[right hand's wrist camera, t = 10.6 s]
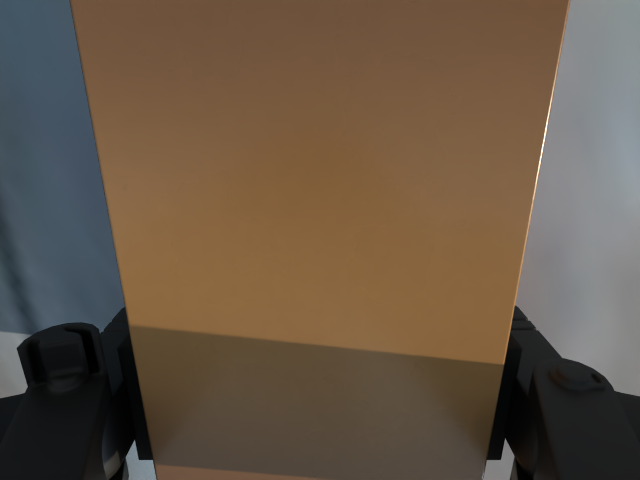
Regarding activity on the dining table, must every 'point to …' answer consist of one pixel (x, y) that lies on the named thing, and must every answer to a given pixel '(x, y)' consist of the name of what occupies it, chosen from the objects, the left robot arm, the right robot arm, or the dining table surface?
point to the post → (319, 223)
